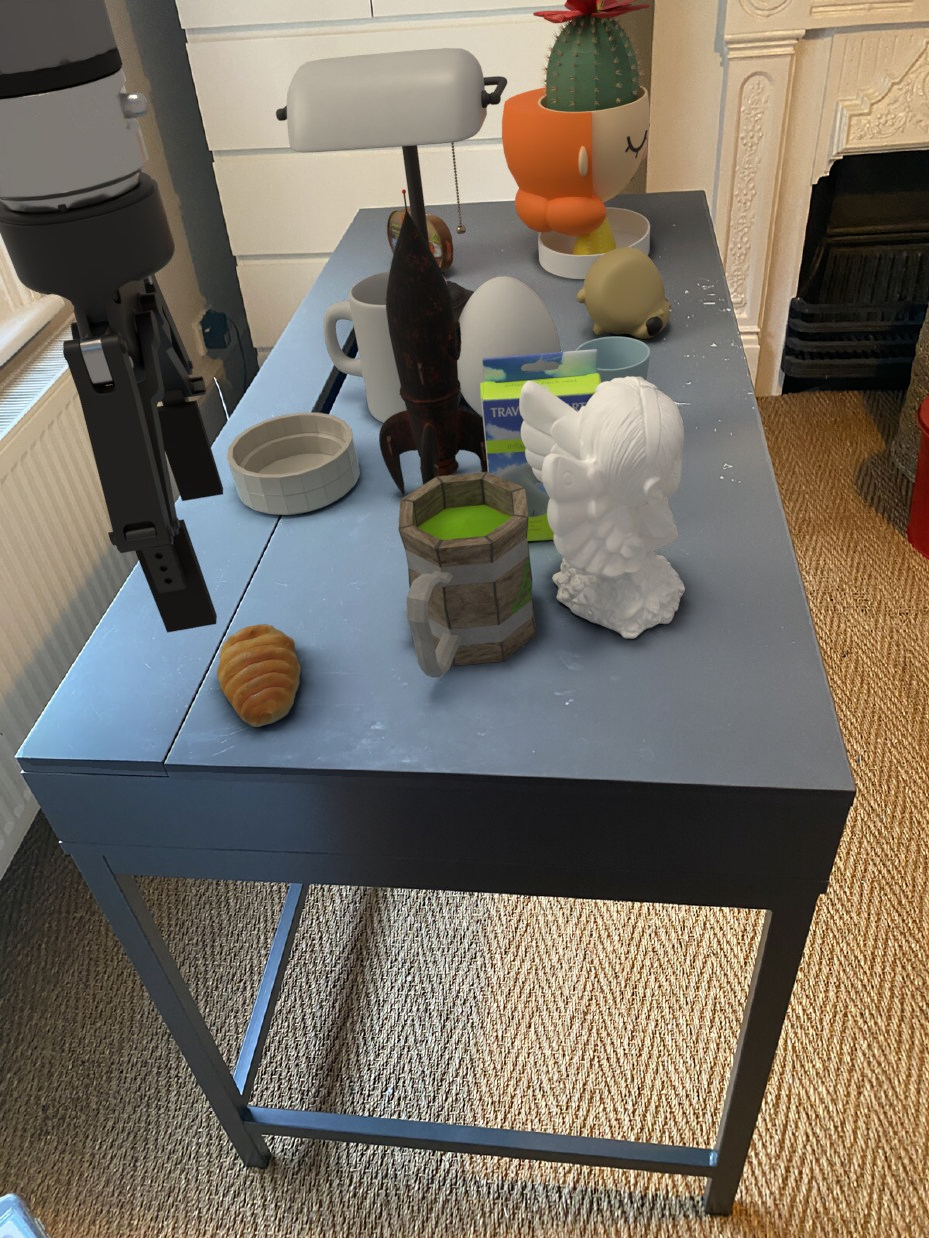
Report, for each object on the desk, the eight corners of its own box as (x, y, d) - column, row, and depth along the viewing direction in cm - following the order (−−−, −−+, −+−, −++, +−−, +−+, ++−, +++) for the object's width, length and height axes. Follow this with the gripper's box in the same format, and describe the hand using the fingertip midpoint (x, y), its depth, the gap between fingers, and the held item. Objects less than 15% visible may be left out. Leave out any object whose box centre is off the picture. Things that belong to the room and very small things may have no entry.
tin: (389, 260, 151) (381, 206, 145) (405, 254, 152) (397, 200, 147) (443, 282, 141) (436, 225, 136) (459, 276, 142) (454, 219, 137)
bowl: (236, 527, 95) (223, 486, 92) (242, 462, 106) (230, 423, 102) (363, 506, 96) (355, 464, 93) (357, 444, 106) (349, 404, 103)
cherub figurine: (703, 642, 76) (723, 423, 63) (551, 662, 76) (540, 447, 63) (663, 548, 86) (672, 342, 73) (529, 566, 86) (514, 363, 73)
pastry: (315, 717, 74) (304, 683, 71) (231, 742, 72) (217, 709, 70) (295, 644, 81) (285, 610, 78) (218, 666, 79) (205, 633, 77)
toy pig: (617, 372, 121) (680, 325, 113) (555, 303, 118) (615, 249, 110) (636, 338, 127) (697, 290, 120) (578, 271, 124) (637, 218, 116)
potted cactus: (654, 226, 150) (662, -36, 127) (642, 280, 134) (649, -10, 111) (523, 230, 155) (508, -22, 133) (496, 282, 139) (474, 5, 116)
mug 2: (443, 576, 86) (426, 464, 78) (555, 595, 82) (550, 479, 74) (369, 693, 75) (341, 577, 67) (494, 721, 71) (481, 601, 64)
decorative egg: (570, 382, 112) (567, 257, 103) (551, 433, 103) (545, 302, 94) (473, 379, 115) (461, 257, 106) (446, 428, 107) (430, 301, 97)
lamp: (312, 369, 122) (247, 78, 100) (356, 295, 140) (310, 35, 118) (511, 364, 118) (489, 57, 96) (531, 289, 136) (516, 16, 114)
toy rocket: (434, 530, 91) (388, 214, 72) (385, 495, 97) (331, 194, 78) (504, 495, 95) (478, 185, 76) (453, 463, 101) (417, 167, 81)
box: (493, 546, 89) (476, 378, 77) (493, 521, 92) (477, 357, 80) (605, 539, 88) (604, 368, 76) (601, 514, 91) (600, 347, 80)
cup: (592, 468, 97) (591, 375, 90) (564, 435, 103) (562, 346, 96) (659, 451, 98) (663, 358, 92) (628, 419, 104) (629, 330, 98)
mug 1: (472, 385, 114) (460, 268, 105) (443, 430, 106) (428, 308, 97) (355, 378, 119) (334, 266, 110) (320, 421, 111) (293, 304, 102)
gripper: (125, 264, 34) (260, 681, 48) (172, 115, 53) (258, 444, 66) (-86, 295, 33) (112, 708, 47) (37, 134, 52) (153, 461, 66)
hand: (198, 554), depth 57 cm, fingers open, 13 cm apart
